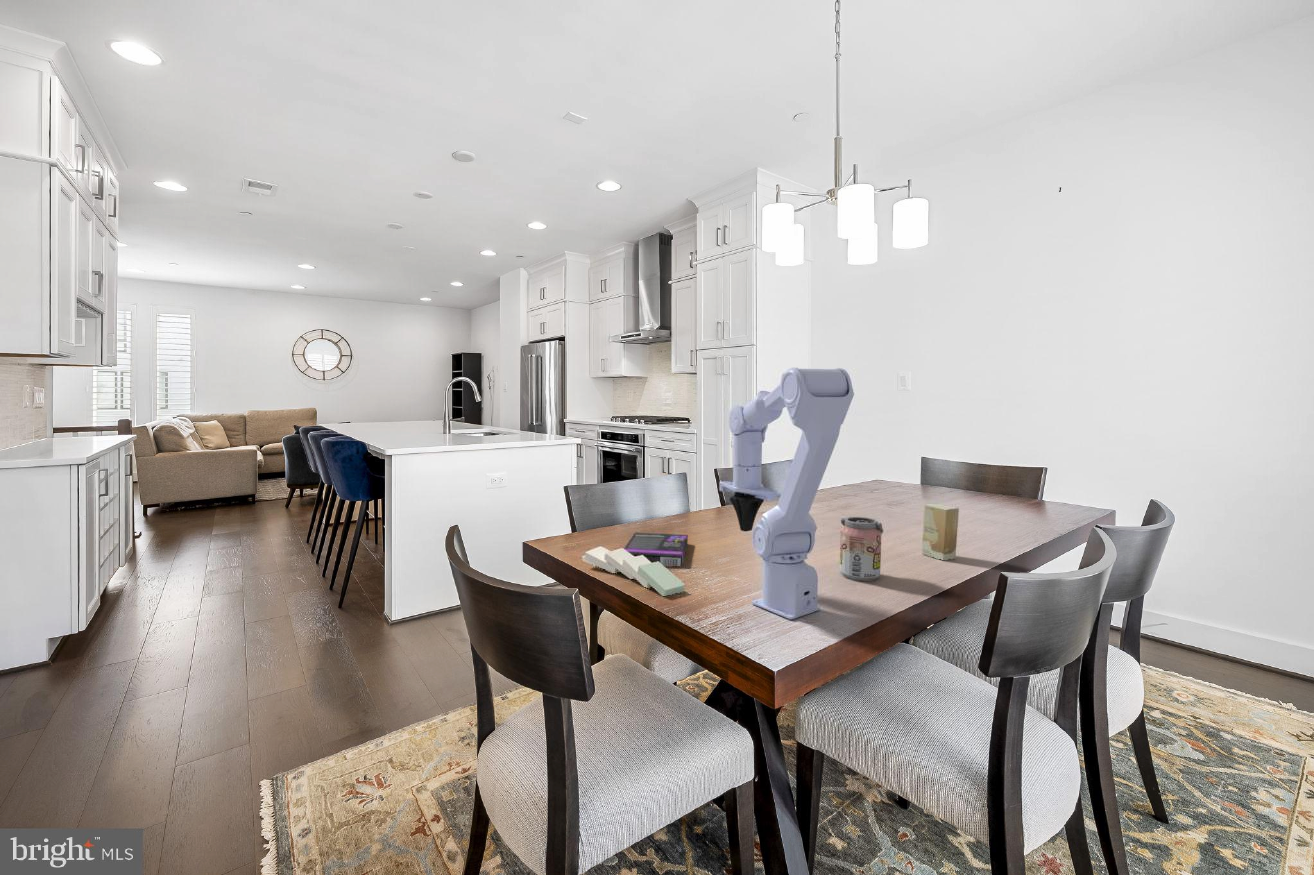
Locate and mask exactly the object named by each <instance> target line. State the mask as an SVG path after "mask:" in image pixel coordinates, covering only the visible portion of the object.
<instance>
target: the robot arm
mask: <svg viewBox="0 0 1314 875" xmlns="http://www.w3.org/2000/svg"><path fill="white" fill-rule="evenodd" d="M854 392H855V391H854V388H853V384H852V379H851V377H850V375H849V373H848V372H847V370H846V369H844V368H840V367H837V368H798V367H790V368H788V369H787V370H786V372H783V373H782V374H781V379H780V383H779V384H778V385H776V387H775V388H774V389H773V390H772V391H767V390H760V391H758V393H757V395H756V396H755V397H753V398H752V399H750V400H748V401H747V403H745V405H741V406H740V405H738V404H736V405H735V404H734V405H733V407H731V409H730V411H729V414H728V425H729V430H730V432H731V434H733V454H732V455H733V458H732V459H733V460H732V461H733V462H732V464H733V465H732V466H733V467H732V478H733V479H732V481H727V480H724V481H719V484H718V486H719V487H718V488H719V491H720V492H729V493H733V494H734V495H732V496H729V501H730V503H731V504H732V506H733V509H734V510H735V513H736V516H737V520H738V525H739V529H740V531H742V532H751V531H752V530H753V531H752V545H753V548H754V550H755V552H756V554H757V555H758V556H759V557H760V558H762V564H761V565H762V566H761V567H762V568H761V569H762V570H761V571H762V572H761V574H762V577H761V583H762V585H761V597H759V598H757V599H753V600H751V604H752V605H754V606H757V607H759V608H761V609H764V610H766V611H769V612H772V613H774V614H776V615H779V616H781V617H783V618H786V619H788V620H794V619H798V618H800V617H803V616H805V615H808V614H811V613H814V612H816V611H820V610H821V606H819V605H818V587H819V586H818V583H819V581H818V580H819V579H818V578H819V576H818V573H817V570H816V569H815V567H814V566H811V565H810V564H808V563H807V562H806V561H805V560H807V559H808V555H809V554H810V553H812V551H813V549H814V546H815V540H816V539H815V538H816V537H815V536H816V531H817V530H818V527H817V523H816V521H815V519H814V518H813V516H812V515H811V514H810V511H811V508H812V506H813V503H814V500H815V498H816V495H817V493H818V490H819V487H820V484H821V482H822V480H823V477H824V474H825V472H826V470H827V467H828V464H829V461H830V459H831V456H832V454H833V451H834V449H835V446H836V444H837V442H838V439H839V436H840V430H841V426H842V425H843V424H844V421H845V418H846V416H847V414H848V411H849V409H850V406H851V403H852V400H853V398H854V396H855V393H854ZM784 408H786V410H787V412H788V414H789V417H790V420H791V423H792V424H793V425H794V426H795V427H796V428H797V429H800V431H801V430H802V431H801V432H802V433H801V435H800V439H799V442H798V444H797V447H796V450H795V453H794V456H793V458H792V459H793V460H792V462H791V464H790V468H789V470H788V473H787V476H786V478H785V481H784V486H783V487H782V490H781V493H780V496H779V500H778V490H775V489H770V488H768V487H765V486H764V485H763V484H762V471H763V470H762V464H763V463H762V462H763V459H762V458H763V457H762V456H763V443H764V442H765V440H766V432H767V430H768V426H769V425H770V424H771V423H773V422H775V421H776V420H778V419H779V418H780V417H781V415H783V409H784ZM764 501H766V502H770V503H771V502H776V501H778V502H777V505H776V506H774V507H772V508H771V509H769V510H767V511H765V512H764V513H763V514H762V515H761V516H760V519H759V521H758V522H757V523H756V525H755V526H754V523H755V519H756V516H757V514H758V511H759V510H760V507H761V506H762V504H763V503H764Z"/></svg>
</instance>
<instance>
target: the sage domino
mask: <svg viewBox="0 0 1314 875" xmlns="http://www.w3.org/2000/svg"><path fill="white" fill-rule="evenodd" d="M666 567H667V566H663V565H662V564H661V563H660V562H659V561H658V562H653V563H649V564H645V565H640V566H639V567H638V572H637V573H638V574H639V575H640V576H641V577H642V578H643V579H645V580H646V581H647V582H648V583H649V584H650V585H651V586H652V588H653V589H654V590H655V591H656V592H657V593H658V594H659V595H661V596H662V597H663V596H667V595H671V596H673V595H672V594H674V595H676V594H675V593H678V594H681V593H684V592H685V588H686V584H685V583H684V582H683V581H682V580H681V579H679V578H678V577H677V576H676V575H675V574H674V573H673V572H671V571H670V570H669V569H668V567H667V568H666ZM683 591H684V592H683ZM680 592H681V593H680ZM667 597H668V596H667Z"/></svg>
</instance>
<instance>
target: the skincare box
mask: <svg viewBox="0 0 1314 875" xmlns="http://www.w3.org/2000/svg"><path fill="white" fill-rule="evenodd" d="M923 512H924V514H923V527H922V542H921V543H922V544H921V554H922V555H925V556H928V557H930V558H933V557H934V558H933V559H937V560H939V559H941V560H940V561H942V560H945V561H949V560H948V559H951V560H955V559H956V557H957V556H956V553H957V543H958V542H957V541H958V540H957V539H958V526H959V516H960V515H959V512H960V509H959V507H954V506H950V505H946V504H941V503H929V504H924V511H923ZM954 558H955V559H954Z"/></svg>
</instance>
